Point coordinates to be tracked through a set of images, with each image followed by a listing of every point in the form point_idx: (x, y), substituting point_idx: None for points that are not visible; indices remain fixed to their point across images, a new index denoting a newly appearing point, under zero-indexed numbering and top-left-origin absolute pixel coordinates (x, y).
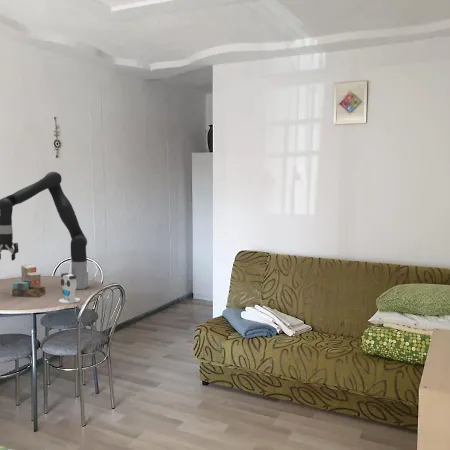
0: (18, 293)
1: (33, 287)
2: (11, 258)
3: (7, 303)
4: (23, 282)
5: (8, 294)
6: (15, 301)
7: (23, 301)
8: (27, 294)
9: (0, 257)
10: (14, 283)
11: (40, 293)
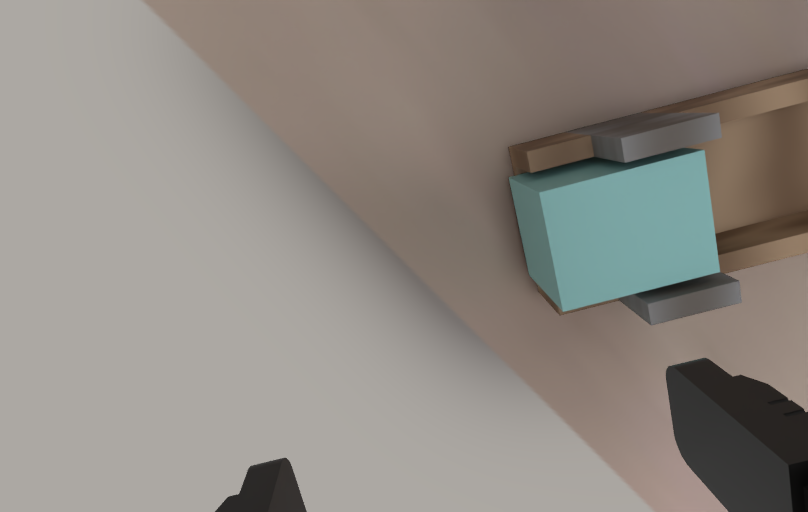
0: None
1: (724, 121)
2: (710, 488)
3: (678, 501)
4: (651, 195)
5: (453, 255)
6: None
7: None
8: None
9: (281, 506)
10: (579, 293)
11: (794, 131)
